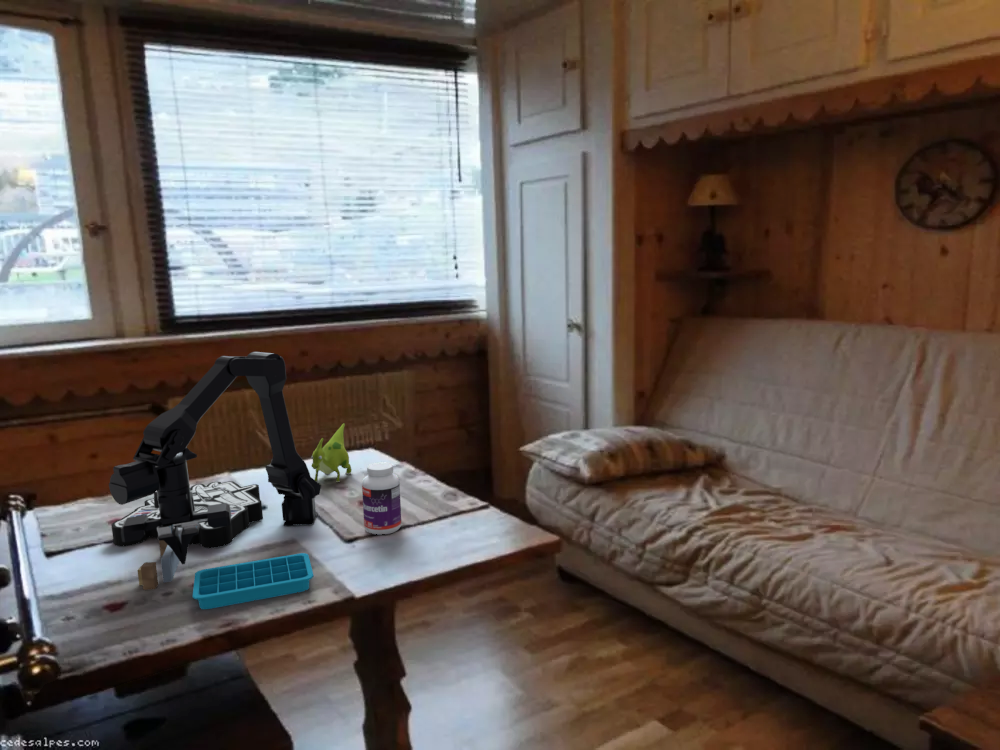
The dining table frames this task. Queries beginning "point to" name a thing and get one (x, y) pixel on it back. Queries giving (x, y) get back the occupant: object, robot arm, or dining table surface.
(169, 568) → the pale blue flat bar
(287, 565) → the ice cube tray
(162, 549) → the brown angular block
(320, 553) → the dining table surface
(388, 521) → the pill bottle
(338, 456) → the toy
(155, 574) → the wooden block
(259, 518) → the decorative sign
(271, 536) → the dining table surface
